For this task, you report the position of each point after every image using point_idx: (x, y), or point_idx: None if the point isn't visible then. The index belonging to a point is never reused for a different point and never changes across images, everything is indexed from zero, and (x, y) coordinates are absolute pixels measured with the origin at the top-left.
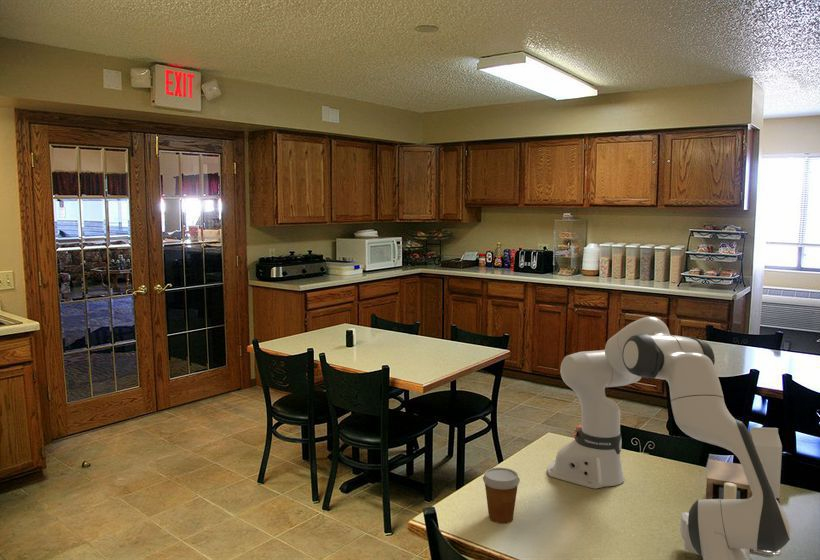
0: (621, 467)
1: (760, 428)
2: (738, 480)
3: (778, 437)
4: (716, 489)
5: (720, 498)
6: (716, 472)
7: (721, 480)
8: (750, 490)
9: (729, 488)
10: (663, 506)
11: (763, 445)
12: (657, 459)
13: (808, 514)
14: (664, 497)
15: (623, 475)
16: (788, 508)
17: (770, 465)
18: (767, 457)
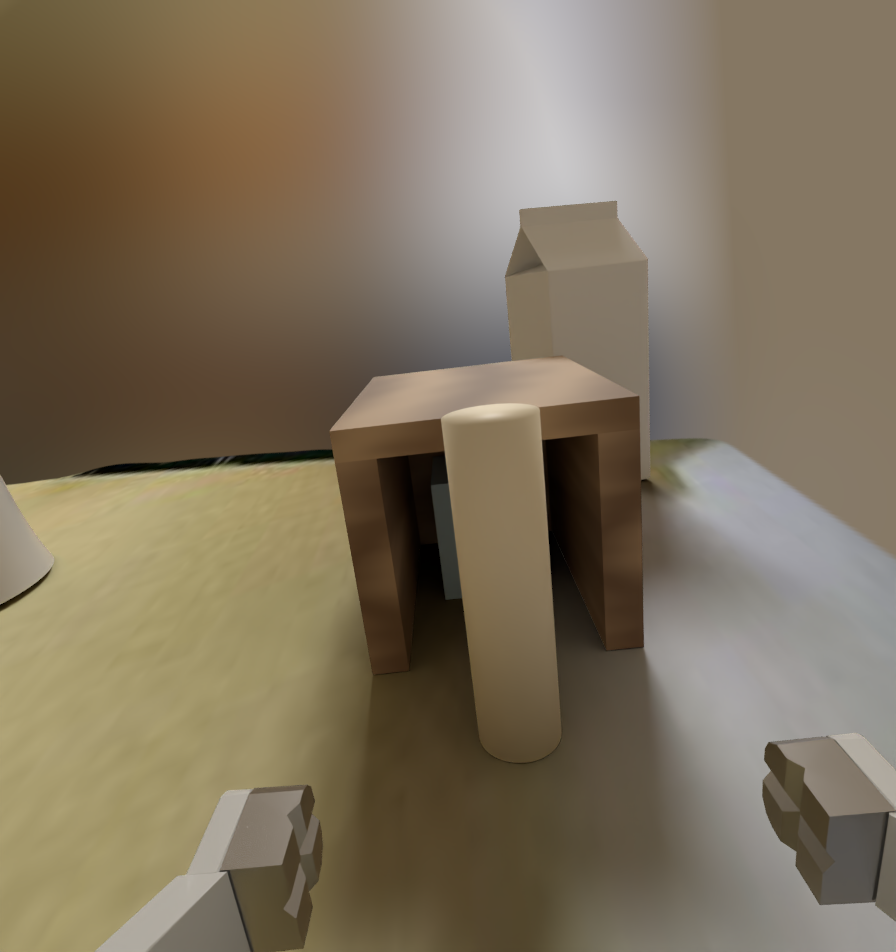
0: (5, 529)
1: (556, 209)
2: (528, 398)
3: (625, 232)
4: (428, 507)
5: (446, 544)
6: (399, 400)
7: (425, 421)
8: (614, 436)
9: (488, 440)
10: (129, 696)
11: (582, 266)
12: (256, 472)
13: (794, 504)
14: (182, 621)
15: (39, 562)
16: (709, 503)
17: (614, 352)
18: (601, 318)
